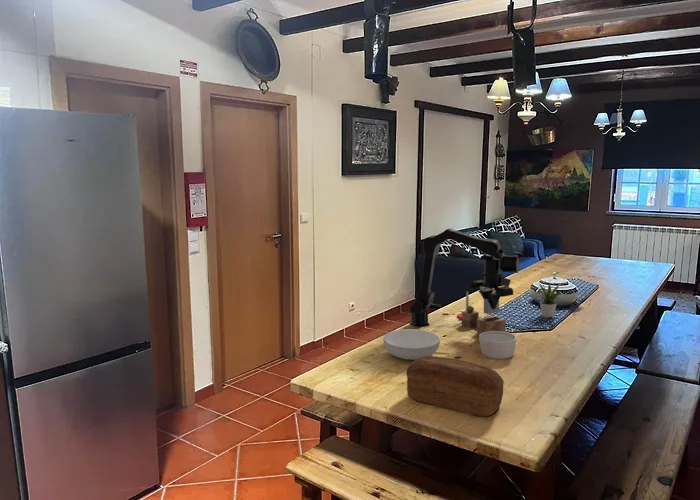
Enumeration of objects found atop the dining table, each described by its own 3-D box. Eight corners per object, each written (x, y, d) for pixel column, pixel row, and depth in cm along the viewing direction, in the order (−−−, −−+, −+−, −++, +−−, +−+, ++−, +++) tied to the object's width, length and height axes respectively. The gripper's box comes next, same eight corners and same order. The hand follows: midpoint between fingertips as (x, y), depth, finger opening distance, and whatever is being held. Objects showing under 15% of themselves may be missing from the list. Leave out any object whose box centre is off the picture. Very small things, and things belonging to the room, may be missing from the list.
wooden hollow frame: (488, 337, 212) (489, 316, 211) (458, 325, 229) (458, 306, 227) (505, 333, 216) (505, 313, 215) (474, 322, 233) (474, 303, 231)
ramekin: (471, 351, 198) (471, 333, 196) (500, 345, 203) (500, 328, 201) (494, 363, 185) (494, 344, 184) (524, 357, 191) (524, 338, 189)
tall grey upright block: (487, 314, 213) (487, 299, 212) (483, 312, 216) (483, 298, 215) (498, 311, 216) (499, 297, 215) (494, 310, 218) (495, 296, 217)
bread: (421, 384, 170) (420, 347, 168) (507, 403, 155) (508, 364, 153) (400, 400, 159) (399, 362, 157) (492, 423, 144) (492, 381, 142)
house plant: (527, 319, 235) (528, 283, 232) (529, 310, 247) (530, 276, 245) (561, 321, 229) (563, 285, 227) (562, 313, 242) (563, 278, 239)
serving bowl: (403, 370, 182) (403, 351, 181) (373, 352, 200) (372, 334, 199) (452, 358, 191) (452, 340, 190) (418, 342, 210) (418, 325, 208)
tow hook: (456, 315, 246) (457, 320, 237) (456, 288, 244) (457, 292, 235) (475, 315, 244) (476, 320, 235) (475, 288, 243) (477, 292, 234)
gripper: (523, 272, 209) (523, 310, 211) (490, 265, 225) (490, 300, 227) (502, 276, 203) (502, 315, 206) (470, 268, 220) (470, 304, 222)
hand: (491, 308), depth 216 cm, fingers closed on tall grey upright block, 2 cm apart
